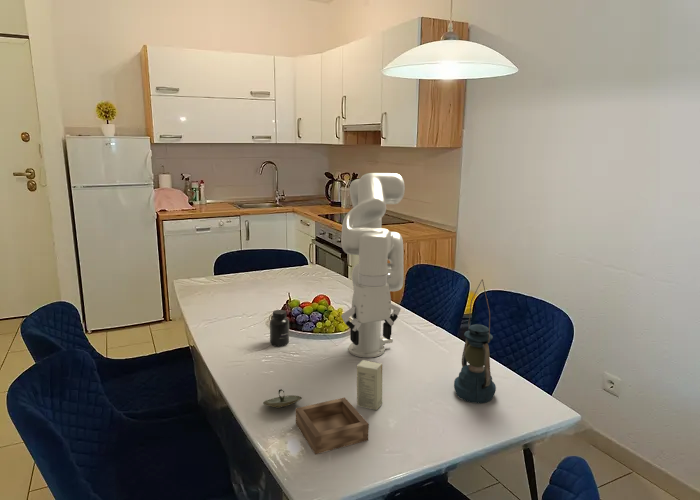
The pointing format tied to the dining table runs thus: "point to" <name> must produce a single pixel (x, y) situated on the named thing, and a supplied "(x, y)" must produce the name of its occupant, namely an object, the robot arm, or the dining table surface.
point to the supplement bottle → (279, 329)
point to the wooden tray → (331, 425)
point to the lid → (282, 400)
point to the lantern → (476, 365)
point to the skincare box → (369, 384)
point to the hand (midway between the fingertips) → (370, 340)
